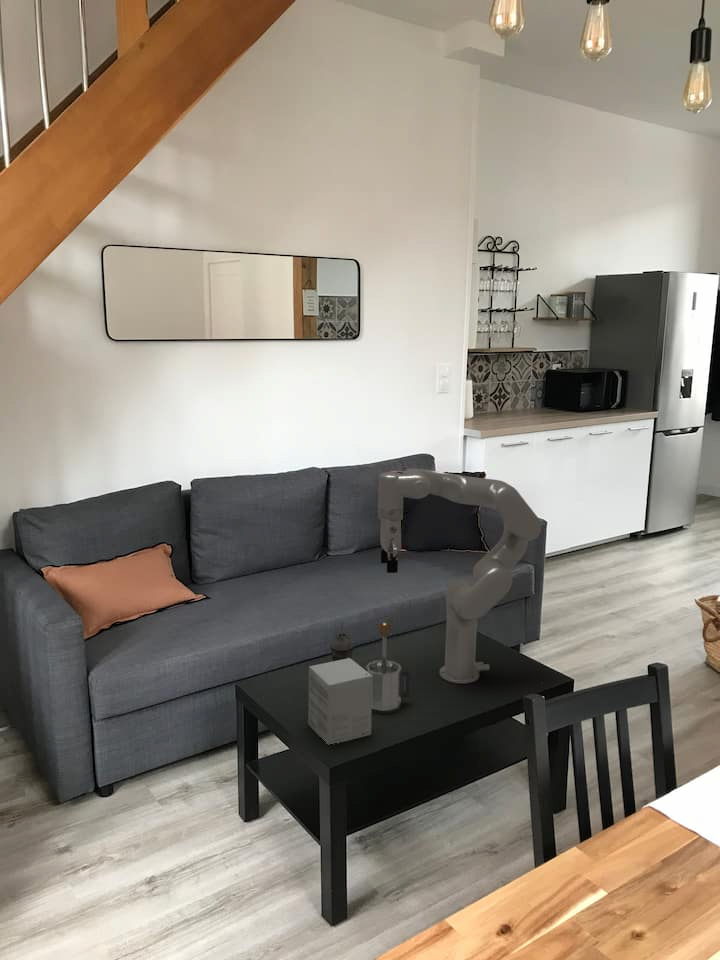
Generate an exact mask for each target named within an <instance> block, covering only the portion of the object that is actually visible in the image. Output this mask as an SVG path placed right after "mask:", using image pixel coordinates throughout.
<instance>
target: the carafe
mask: <svg viewBox="0 0 720 960" xmlns="http://www.w3.org/2000/svg"><path fill="white" fill-rule="evenodd" d="M377 667H382V659H379V660H374V661H370V662H368V664H367V665H366V666H365V670H366V671H367V672H368V673H369V674H370V675H372V708H371V713H374V714H378V715H391V714H394V713H396V712H398V711H400V709H401V707H402V706H401V705H402V703H401V701H402V699H405V698H406V699H407V698H410V683H411V681H410V680H411V678H410V677H411V673H410V670H409V669H402V667H401V664H400V663H397V662H396V661H393V660H387V659H386V667H389V668H392V669H394V670H396V672H393V673H390V674H381V673H375V672H373V671H372V669H374V668H377ZM402 677H403V678H404V682H403V684H404V685H403V691H402Z"/></svg>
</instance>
